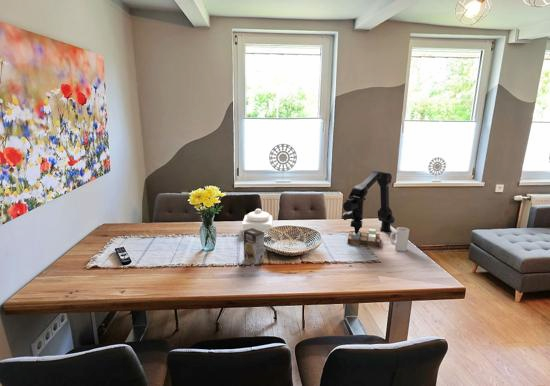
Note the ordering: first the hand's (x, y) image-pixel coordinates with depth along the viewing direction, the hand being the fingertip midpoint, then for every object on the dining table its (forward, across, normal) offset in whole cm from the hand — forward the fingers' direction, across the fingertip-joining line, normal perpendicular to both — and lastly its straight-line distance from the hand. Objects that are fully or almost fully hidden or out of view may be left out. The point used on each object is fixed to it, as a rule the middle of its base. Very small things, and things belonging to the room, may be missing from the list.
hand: (356, 233), depth 194 cm
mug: (+6, +2, +24) cm, 24 cm away
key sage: (+3, -7, +9) cm, 12 cm away
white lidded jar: (+6, +1, -61) cm, 61 cm away
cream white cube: (+4, 0, +9) cm, 10 cm away
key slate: (+4, 0, 0) cm, 4 cm away
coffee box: (+6, +40, -50) cm, 64 cm away
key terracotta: (+4, -7, 0) cm, 8 cm away
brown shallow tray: (+6, -4, +4) cm, 8 cm away
